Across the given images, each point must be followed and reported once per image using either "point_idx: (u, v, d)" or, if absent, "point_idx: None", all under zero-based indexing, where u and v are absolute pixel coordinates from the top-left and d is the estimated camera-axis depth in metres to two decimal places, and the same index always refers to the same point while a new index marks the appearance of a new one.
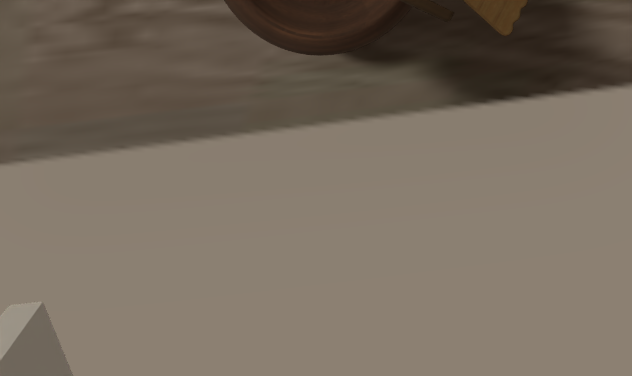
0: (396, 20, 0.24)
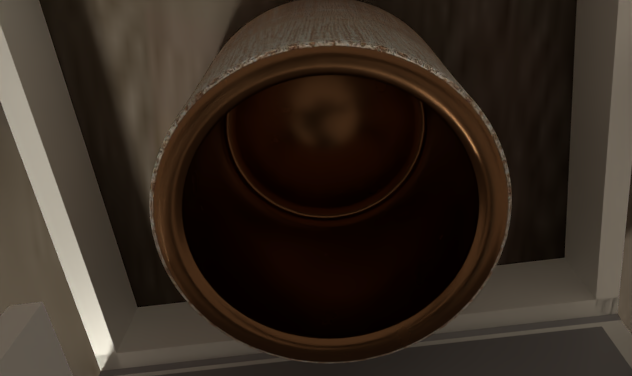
0: None
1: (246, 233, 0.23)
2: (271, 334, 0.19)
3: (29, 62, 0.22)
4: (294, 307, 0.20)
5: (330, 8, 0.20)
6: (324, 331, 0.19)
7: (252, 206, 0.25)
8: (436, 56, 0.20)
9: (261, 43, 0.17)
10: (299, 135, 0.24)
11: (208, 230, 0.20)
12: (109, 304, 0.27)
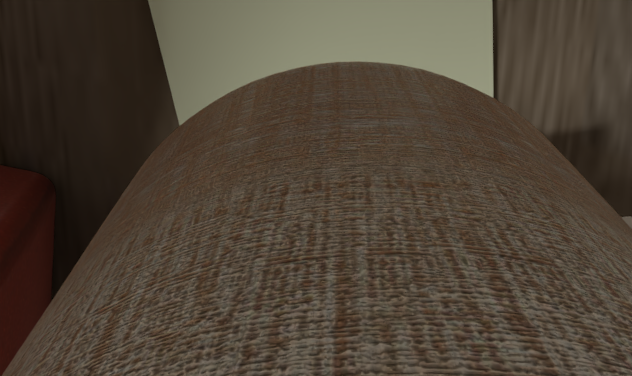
0: None
1: None
2: None
3: None
4: None
5: (376, 117, 0.08)
6: None
7: None
8: None
9: (157, 326, 0.05)
10: None
11: None
12: None
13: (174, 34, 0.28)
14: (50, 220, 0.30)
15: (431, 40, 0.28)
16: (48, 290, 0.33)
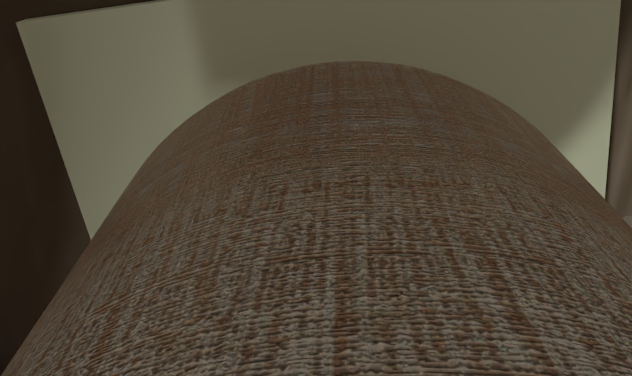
0: None
1: None
2: None
3: None
4: None
5: (376, 116, 0.08)
6: None
7: None
8: None
9: (157, 325, 0.05)
10: None
11: None
12: None
13: (80, 123, 0.17)
14: None
15: None
16: None
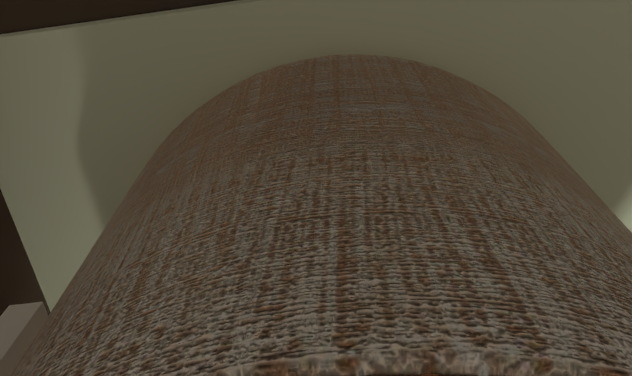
0: None
1: None
2: None
3: None
4: None
5: (373, 102, 0.09)
6: None
7: None
8: (609, 208, 0.09)
9: (185, 273, 0.05)
10: None
11: None
12: None
13: (27, 166, 0.14)
14: None
15: None
16: None
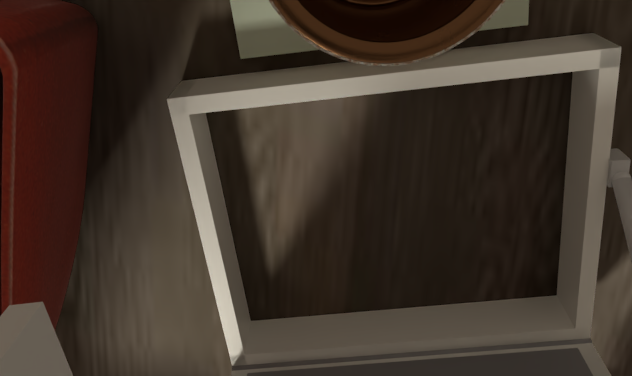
0: None
1: None
2: (335, 35, 0.23)
3: (207, 169, 0.34)
4: (351, 29, 0.24)
5: None
6: (378, 39, 0.23)
7: None
8: None
9: None
10: None
11: None
12: (240, 321, 0.39)
13: None
14: (94, 47, 0.31)
15: None
16: (88, 129, 0.34)
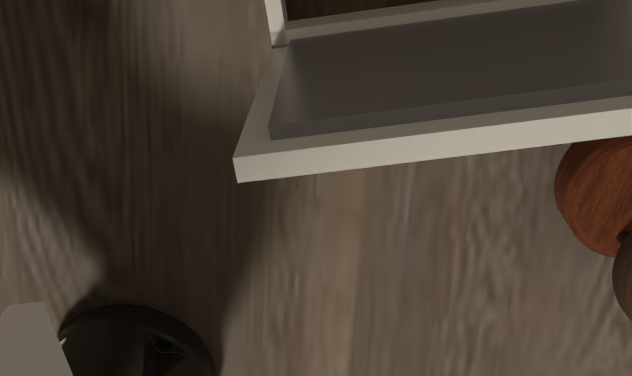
0: None
1: None
2: None
3: None
4: None
5: None
6: None
7: None
8: None
9: None
10: None
11: None
12: None
13: None
14: None
15: None
16: None
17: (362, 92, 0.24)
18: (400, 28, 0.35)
